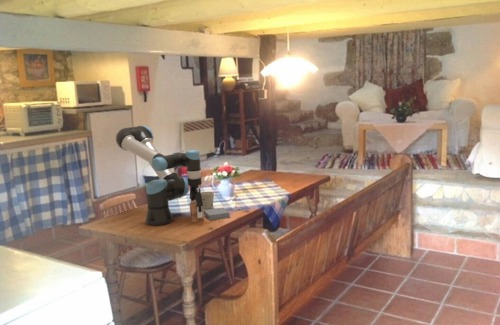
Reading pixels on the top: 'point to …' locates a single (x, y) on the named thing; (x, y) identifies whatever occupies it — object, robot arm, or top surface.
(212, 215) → the base
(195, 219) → the block
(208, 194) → the mug
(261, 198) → the top surface
